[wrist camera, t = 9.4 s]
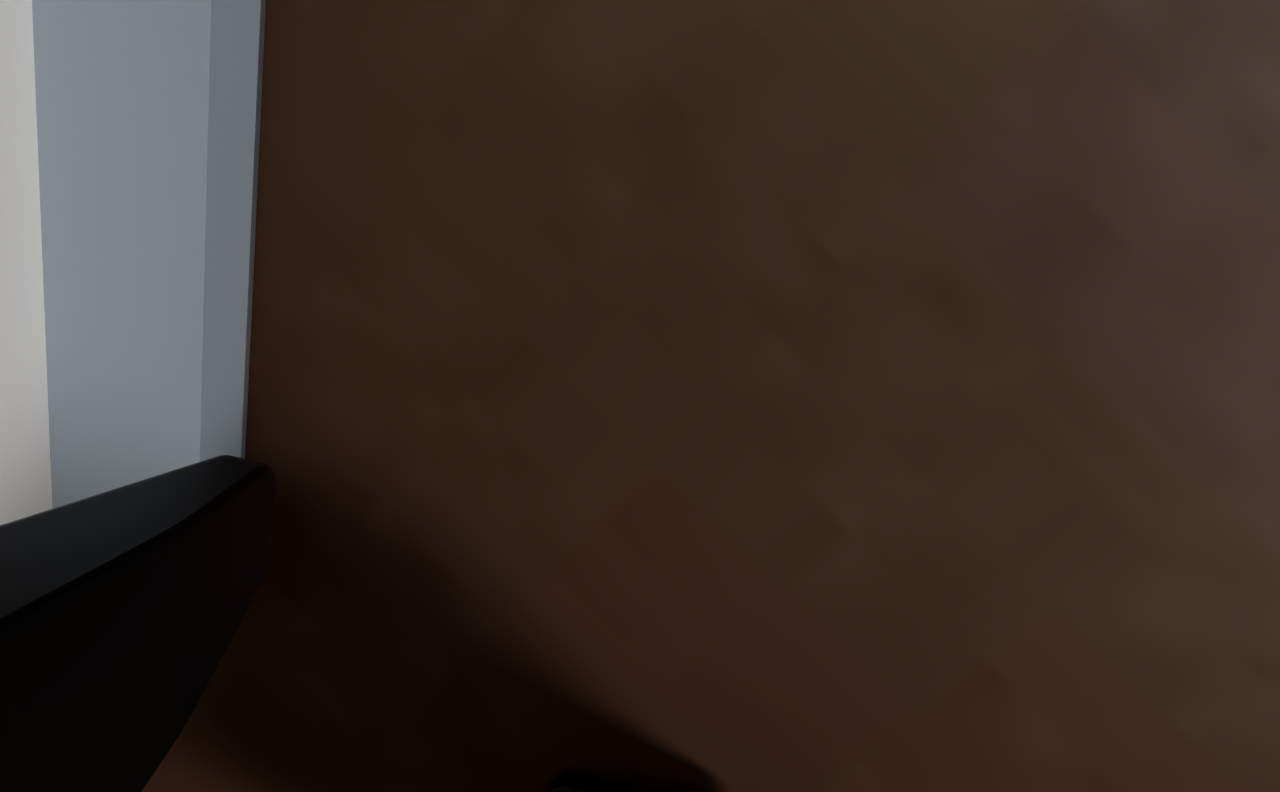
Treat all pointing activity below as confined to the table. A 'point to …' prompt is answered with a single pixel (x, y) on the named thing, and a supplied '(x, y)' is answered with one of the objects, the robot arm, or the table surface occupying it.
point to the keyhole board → (146, 231)
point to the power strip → (21, 279)
